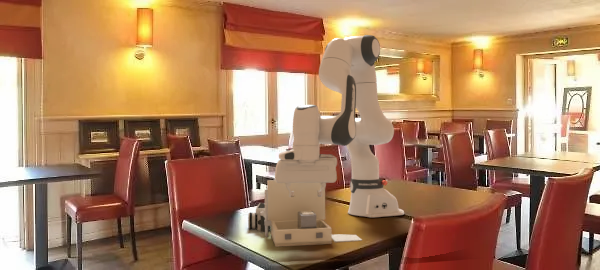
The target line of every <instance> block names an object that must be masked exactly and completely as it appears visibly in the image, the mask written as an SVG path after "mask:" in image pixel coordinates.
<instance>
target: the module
mask: <svg viewBox="0 0 600 270" xmlns="http://www.w3.org/2000/svg"><path fill="white" fill-rule="evenodd" d="M308 228H316V214H315V213H314V212H313V211H311V210H310V211H300V212H298V229H308Z"/></svg>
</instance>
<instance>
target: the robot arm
mask: <svg viewBox="0 0 600 270" xmlns="http://www.w3.org/2000/svg"><path fill="white" fill-rule="evenodd" d="M380 53H381V45H380V42H379V40H378V38H377V37H376V36H375V35H371V34H370V35H369V34H364V35H353V36H349V37H344V38H342V37H336V38H334V39H332V40H330V41H329V42H328V43H327V45H326V46H325V48H324V52H323V55H322V58H321V62H320V63H319V68H318V79H319V80H320V82H321V83H322V85H324V86H325V88H327V89H329V90H330V91H334V92H336V93H339V94H341V101H340V103H341V104H340V105H341V106H340V112H339V114H337V115H322V114H320V111H319V107H318V106H317V105H315V104H305V105H304V104H303V105H298V106H297V107H296V108H295V109H294V111H293V112H294V113H293V119H292V135H293V142H292V149H287V150H285V151H282V152H280V153H278V159H279V160H278V161H277V163H276V166H275V169H274V171H275V172H274V180H275V181H276V182H277V183H286V187H287V189H288V191H289V197H294V191H291V190H290V188H289V186H291V183H321V186H322V187H321V189H320V191H317V193H318V194H317V196H318V197H322V196H323V190H324V189H325V190H326V186H327V184H329V183H331V184H332V183H336V181H337V179H338V176H337V168H336V167H337V165H338V158H337V157H336V156H335V155H333V154H332V153H331V154H330V153H329V154H323V153H320V151H321V150H320V145H321V144H322V145H335V146H345V148H347V151H348V154H349V156H350V163H351V164H350V165H351V178H350V192H351V193H350V201H349V208H348V211H347V214H348V215H352V216H356V217H358V216H359V217H367V218H381V217H393V216H394V217H395V216H403V215H405V211H404V210H403V209H401V208H399V202H398V199H397V198H396V196H395V195H394V194H392V193H390V192H389V191H388V190H387V189H385V188H384V186H387V185H388V181H387V180H384V179H383V180H382V179H381V178H380V162H379V161H380V160H379V158H378V156H376V155H374V153H373V152H372V151H371V148H370V145H371V146H379V145H385V144H389V142H391V141H392V139H393V137H394V134H395V129H394V124H393V123H392V122H391V120H390V119H388V117H386V116H385V114H384V112H383V111H382V109H381V106H380V102H379V99H378V98H379V97H378V86H377V71H376V67H375V63H376V62H377V60H378V59H379V58H380ZM356 110H357V111H358V113H359V117H356Z"/></svg>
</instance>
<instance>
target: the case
mask: <svg viewBox="0 0 600 270" xmlns="http://www.w3.org/2000/svg"><path fill="white" fill-rule="evenodd" d="M266 181H267V186H266V187H267V189H264V203H265V220H264V225H265V233H264V236H265V238H267V237H269V232H268V226H271V231H270V237H271V238H272V239H271V240H272V242H273V245H274V246H275V247H277V248H278V247H293V246H315V245H316V246H317V245H332V243H333V239H332V235H333V233H332V232H333V231H332V229H333V228H332V227H331V226H330V225H329V224H327V222H326V221H325V220H326V188H325V189H324V190H323V196H322V197H318V196H317V194H318V193H317V191H320V189H321V187H322V186H321V183H291V186H289V188H290V190H291V191H294V197H289V191H288V189H287V187H286V183H277V182H276V181H275V179H273V180H272V179H270V180H266ZM310 210H311V211H313V212H314V213H315V214H316V228H308V229H298V212H300V211H310Z"/></svg>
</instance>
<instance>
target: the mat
mask: <svg viewBox="0 0 600 270" xmlns="http://www.w3.org/2000/svg"><path fill="white" fill-rule="evenodd" d="M332 241H333V242H334V243H346V242H347V243H348V242H363V239H362V238H361V237H359V236H358V235H357V234H345V233H344V234H341V233H340V234H339V233H338V234H337V233H336V234H335V233H334V234H332Z"/></svg>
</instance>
